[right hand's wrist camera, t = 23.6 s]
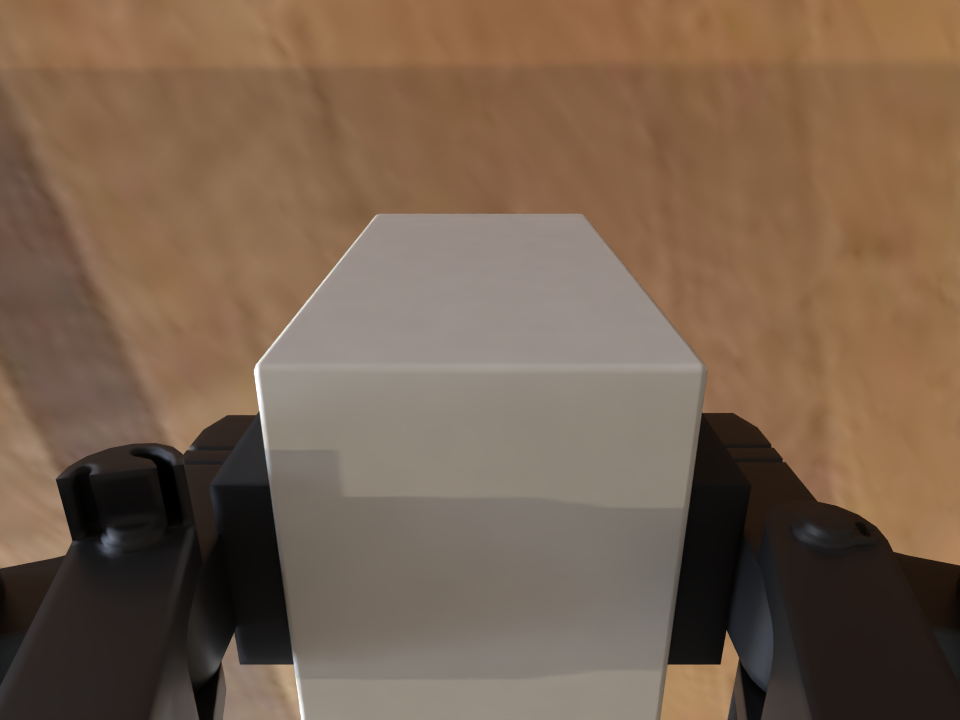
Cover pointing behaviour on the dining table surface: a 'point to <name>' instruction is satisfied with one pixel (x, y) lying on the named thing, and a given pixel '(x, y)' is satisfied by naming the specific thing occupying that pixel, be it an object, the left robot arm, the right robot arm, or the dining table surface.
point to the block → (480, 475)
